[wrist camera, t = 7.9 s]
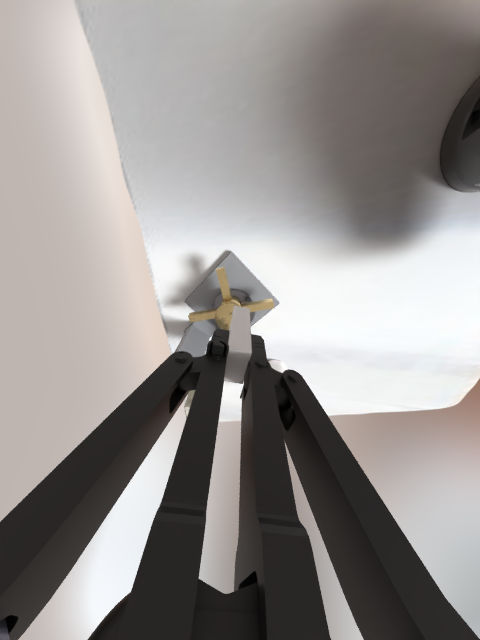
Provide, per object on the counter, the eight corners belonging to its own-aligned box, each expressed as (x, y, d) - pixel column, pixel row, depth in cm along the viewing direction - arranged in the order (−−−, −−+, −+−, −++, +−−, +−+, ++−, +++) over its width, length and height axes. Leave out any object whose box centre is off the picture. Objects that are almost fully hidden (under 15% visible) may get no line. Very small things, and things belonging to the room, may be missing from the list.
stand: (231, 251, 33) (225, 266, 21) (278, 301, 38) (295, 338, 26) (168, 318, 40) (135, 359, 28) (214, 354, 45) (203, 403, 33)
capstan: (181, 272, 34) (168, 282, 28) (265, 255, 32) (270, 262, 26) (206, 344, 42) (200, 364, 36) (275, 333, 40) (280, 352, 34)
